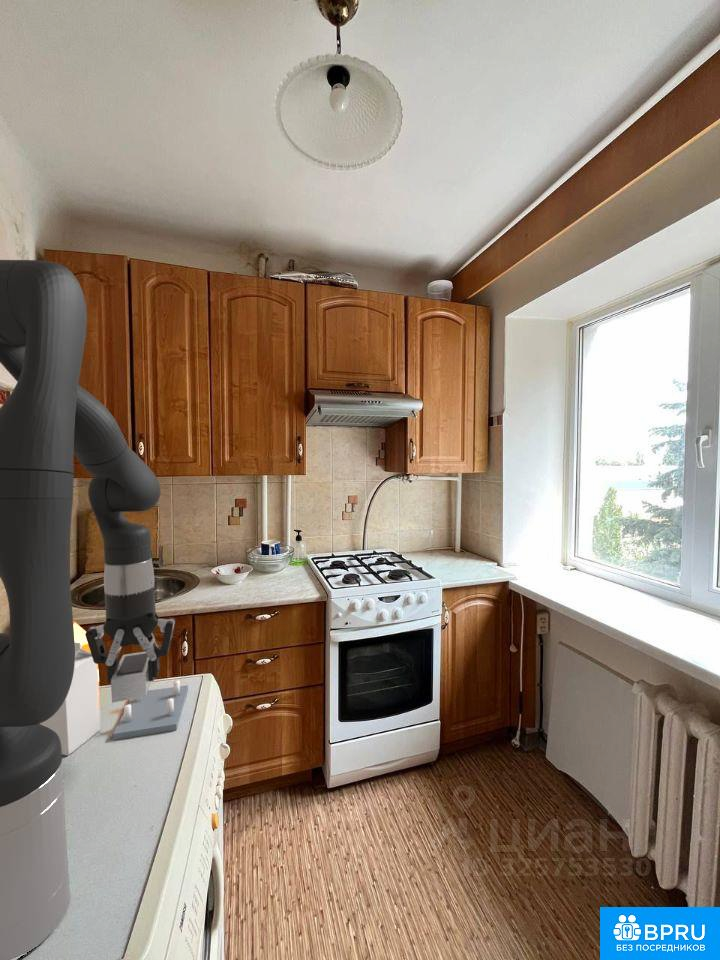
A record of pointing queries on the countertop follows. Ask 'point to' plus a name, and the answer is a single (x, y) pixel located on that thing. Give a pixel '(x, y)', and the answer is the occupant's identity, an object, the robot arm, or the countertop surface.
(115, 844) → the countertop surface
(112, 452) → the robot arm
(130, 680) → the block
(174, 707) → the grey plate with pegs
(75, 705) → the milk carton
